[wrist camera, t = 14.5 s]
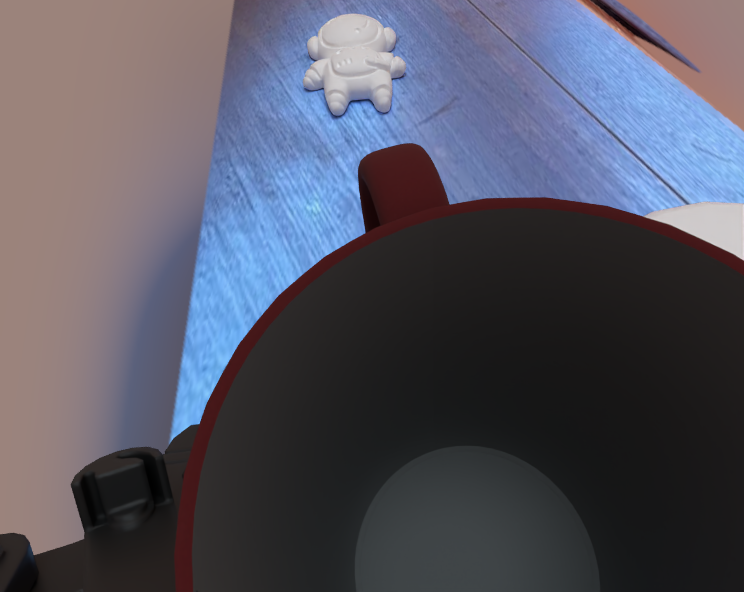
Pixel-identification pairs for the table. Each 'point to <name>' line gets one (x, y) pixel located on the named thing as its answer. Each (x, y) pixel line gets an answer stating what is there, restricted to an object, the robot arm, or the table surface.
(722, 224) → the container
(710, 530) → the mug
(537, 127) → the table surface
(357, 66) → the astronaut figurine
